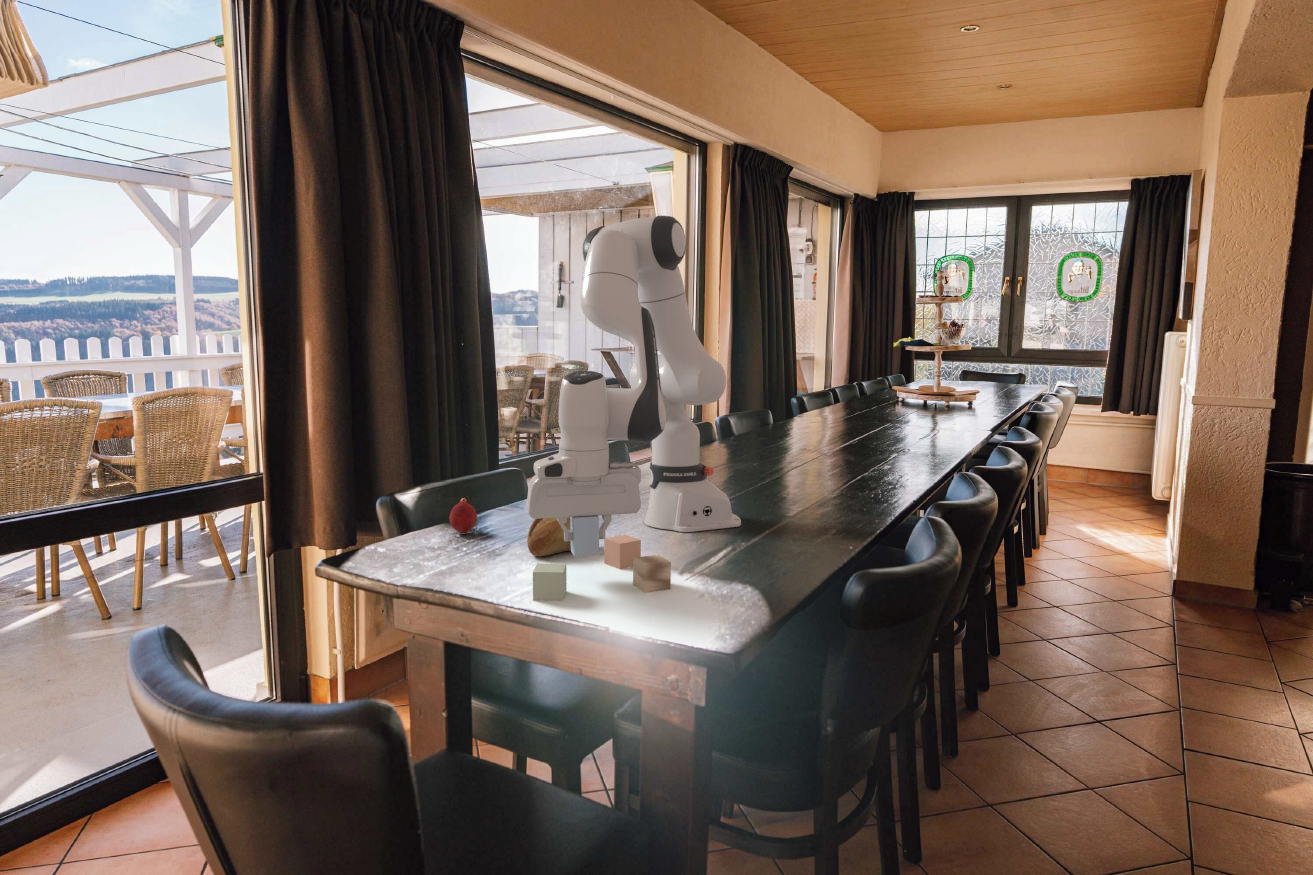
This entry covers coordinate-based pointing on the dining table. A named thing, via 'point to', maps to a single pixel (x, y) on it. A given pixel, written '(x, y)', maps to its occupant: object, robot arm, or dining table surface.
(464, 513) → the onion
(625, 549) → the terracotta block
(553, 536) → the bread roll
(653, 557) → the birch block
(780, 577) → the dining table surface
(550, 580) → the sage block
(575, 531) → the pale blue block
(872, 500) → the dining table surface
